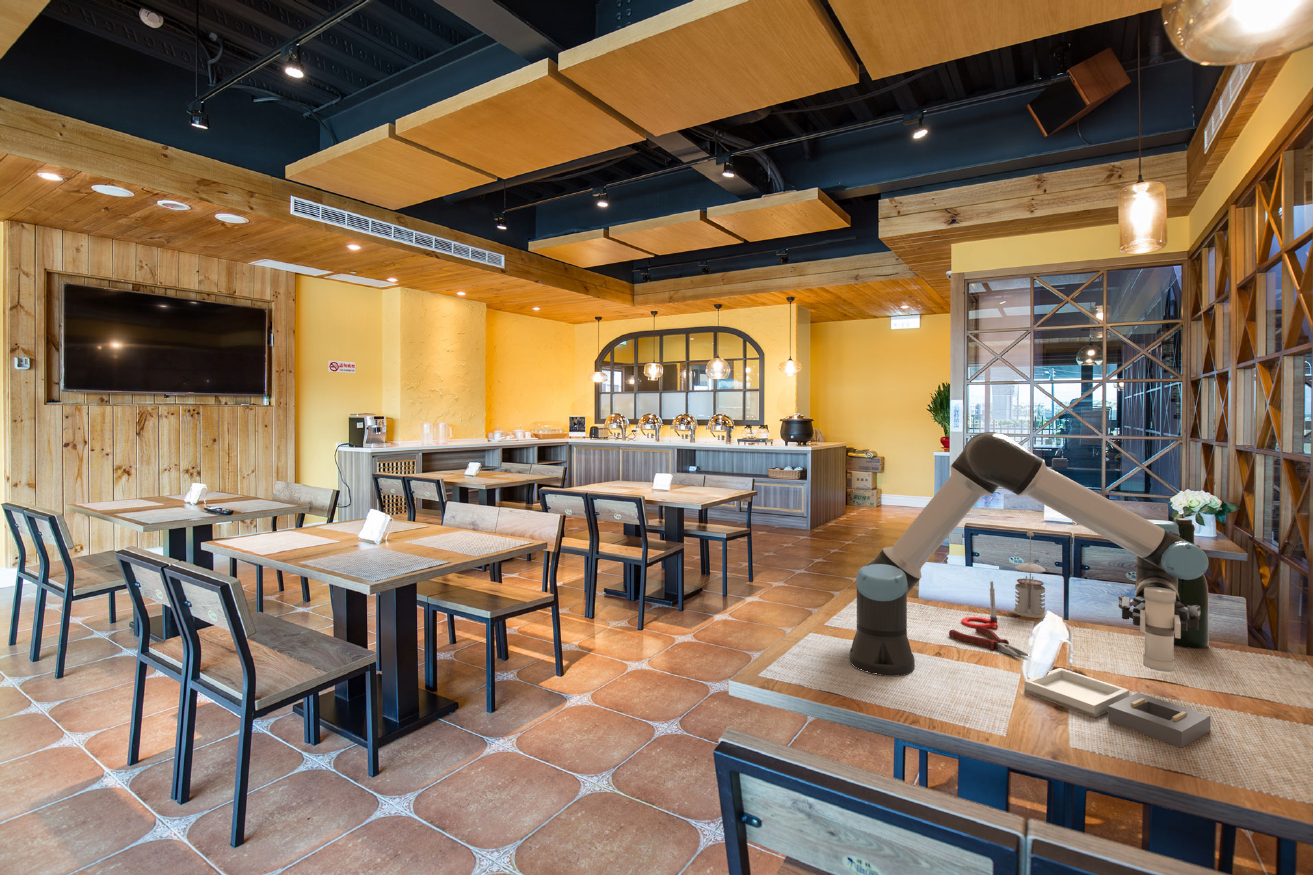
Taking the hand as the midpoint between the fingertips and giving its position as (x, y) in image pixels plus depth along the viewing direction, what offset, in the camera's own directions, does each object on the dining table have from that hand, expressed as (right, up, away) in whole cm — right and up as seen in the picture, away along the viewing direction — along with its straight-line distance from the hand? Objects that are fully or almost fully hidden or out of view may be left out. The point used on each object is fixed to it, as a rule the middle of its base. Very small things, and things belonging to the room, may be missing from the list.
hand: (1160, 628), depth 118 cm
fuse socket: (+4, -21, +5) cm, 21 cm away
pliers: (-7, -20, +49) cm, 54 cm away
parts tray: (-4, -20, +18) cm, 27 cm away
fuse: (+3, -9, +5) cm, 10 cm away
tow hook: (0, -19, +66) cm, 69 cm away
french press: (+20, -18, +75) cm, 80 cm away
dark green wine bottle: (+45, -19, +49) cm, 69 cm away
